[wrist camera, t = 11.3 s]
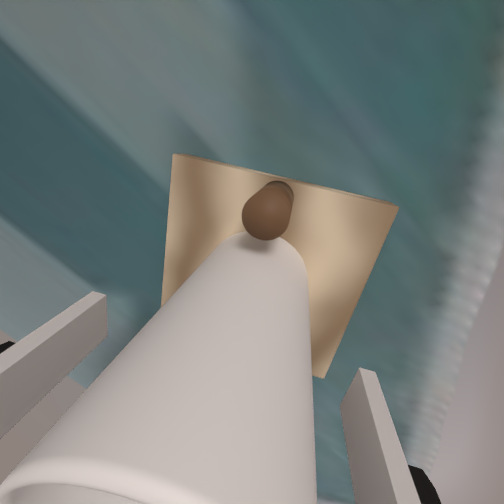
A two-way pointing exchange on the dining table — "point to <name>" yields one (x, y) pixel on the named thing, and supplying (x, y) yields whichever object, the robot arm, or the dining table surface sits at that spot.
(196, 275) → the cup
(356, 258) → the peg board
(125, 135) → the dining table surface
